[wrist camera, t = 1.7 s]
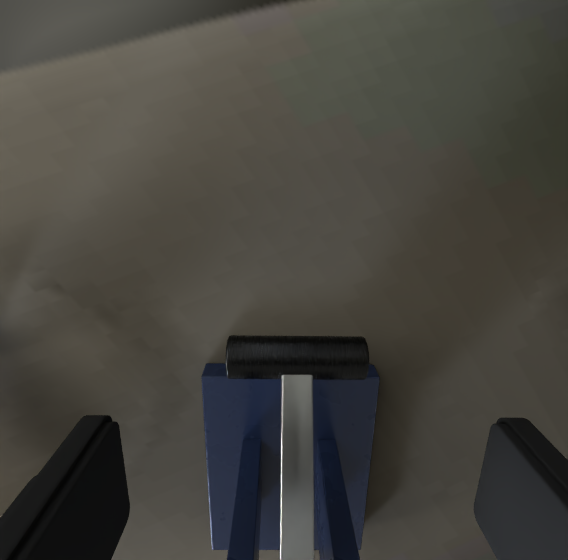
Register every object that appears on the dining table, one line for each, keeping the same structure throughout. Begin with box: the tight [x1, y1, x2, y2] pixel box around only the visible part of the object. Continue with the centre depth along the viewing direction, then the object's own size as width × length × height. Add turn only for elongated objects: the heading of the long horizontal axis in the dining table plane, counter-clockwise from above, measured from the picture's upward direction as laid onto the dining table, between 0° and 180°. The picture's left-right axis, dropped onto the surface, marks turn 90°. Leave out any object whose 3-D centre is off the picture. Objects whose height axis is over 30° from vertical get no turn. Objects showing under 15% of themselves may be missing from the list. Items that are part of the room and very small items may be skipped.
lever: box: [226, 335, 369, 560], centre depth 13 cm, size 13×5×2 cm, turn 179°
